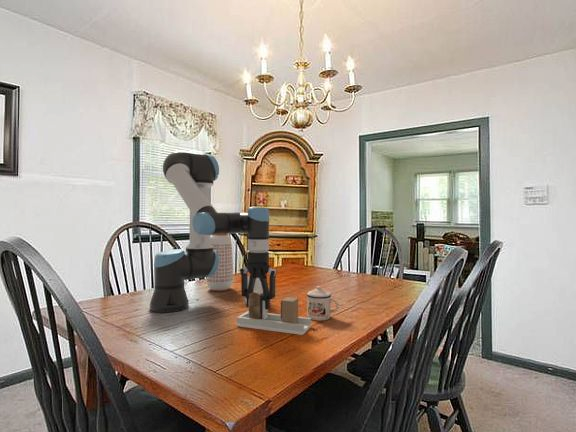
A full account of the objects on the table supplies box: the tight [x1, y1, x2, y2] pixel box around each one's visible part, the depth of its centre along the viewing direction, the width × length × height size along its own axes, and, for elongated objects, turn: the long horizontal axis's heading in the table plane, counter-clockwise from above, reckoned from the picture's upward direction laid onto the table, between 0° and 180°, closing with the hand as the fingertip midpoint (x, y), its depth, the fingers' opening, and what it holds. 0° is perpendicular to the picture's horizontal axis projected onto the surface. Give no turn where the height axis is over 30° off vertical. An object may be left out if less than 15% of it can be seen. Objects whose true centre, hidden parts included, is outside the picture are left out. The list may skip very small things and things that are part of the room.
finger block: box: [248, 291, 264, 319], centre depth 125 cm, size 5×5×9 cm
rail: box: [236, 296, 312, 336], centre depth 123 cm, size 24×9×10 cm, turn 69°
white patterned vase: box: [205, 234, 234, 292], centre depth 180 cm, size 13×13×28 cm
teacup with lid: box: [306, 285, 340, 322], centre depth 133 cm, size 12×9×12 cm
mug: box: [244, 276, 263, 305], centre depth 154 cm, size 12×9×11 cm
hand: (258, 317), depth 125 cm, fingers closed on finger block, 5 cm apart
